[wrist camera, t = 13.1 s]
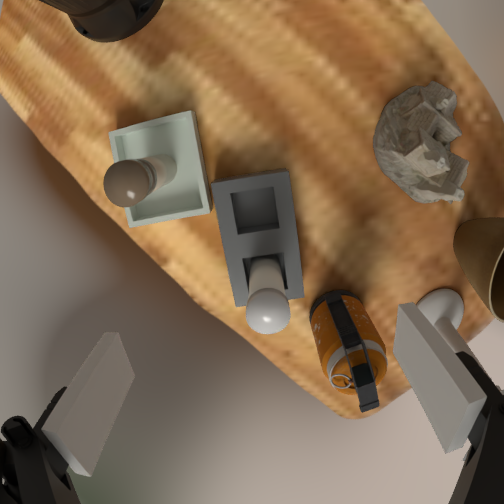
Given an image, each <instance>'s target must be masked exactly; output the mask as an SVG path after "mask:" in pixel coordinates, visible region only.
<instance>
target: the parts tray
mask: <svg viewBox="0 0 504 504" xmlns="http://www.w3.org/2000/svg"><path fill="white" fill-rule="evenodd" d="M109 138H110V143H111V149H112V154H113V159H114V163H116V162H118V161H122V160H127V159H140V158H144V157H149V156H154V155H158V154H166V155H169V156H171V157H172V158H173V159H174V160H175V162H176V165H177V174H176V176H175V178H174V179H173V180H172V181H171V182H170V183H168V184H166V185H165V186H163V187H161V188H159V189H157V190H156V191H154V192H152V193H151V194H149V195H148V196H147V197H146V198H145V199H144V200H142V201H140V202H139V203H137V204H136V205H134V206H131V207H124V208H125V212H126V216H127V220H128V224H129V228H132V227H137V226H142V225H147V224H153V223H158V222H163V221H168V220H174V219H179V218H185V217H190V216H196V215H202V214H208V213H211V211H212V209H213V205H212V200H211V195H210V190H209V185H208V180H207V174H206V169H205V164H204V159H203V153H202V148H201V142H200V137H199V131H198V126H197V120H196V114H195V112H194V111H191V110H190V111H186V112H181V113H177V114H173V115H169V116H165V117H161V118H157V119H153V120H149V121H146V122H142V123H139V124H135V125H132V126H128V127H125V128H121V129H118V130H115V131H112V132H109Z"/></svg>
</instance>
